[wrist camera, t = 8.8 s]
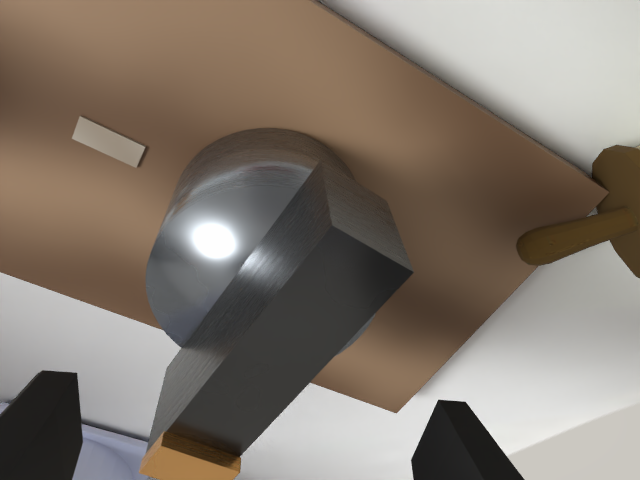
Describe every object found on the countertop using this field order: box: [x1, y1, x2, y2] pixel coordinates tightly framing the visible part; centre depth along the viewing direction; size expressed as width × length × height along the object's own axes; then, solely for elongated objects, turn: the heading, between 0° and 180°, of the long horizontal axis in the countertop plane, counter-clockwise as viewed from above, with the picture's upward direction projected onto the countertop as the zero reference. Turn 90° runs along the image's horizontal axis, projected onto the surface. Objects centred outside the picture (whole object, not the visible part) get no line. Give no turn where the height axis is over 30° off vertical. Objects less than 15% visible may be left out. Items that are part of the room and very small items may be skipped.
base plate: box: [0, 0, 609, 413], centre depth 18 cm, size 13×20×2 cm, turn 59°
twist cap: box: [139, 128, 414, 480], centre depth 14 cm, size 6×8×7 cm
